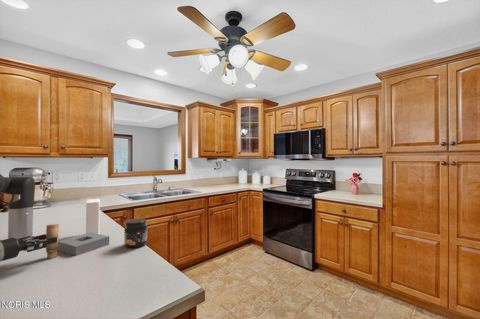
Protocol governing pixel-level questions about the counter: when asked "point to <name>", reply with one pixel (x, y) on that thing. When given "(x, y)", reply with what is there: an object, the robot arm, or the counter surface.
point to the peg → (52, 248)
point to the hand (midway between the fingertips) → (51, 237)
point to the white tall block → (92, 214)
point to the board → (83, 243)
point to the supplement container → (135, 233)
